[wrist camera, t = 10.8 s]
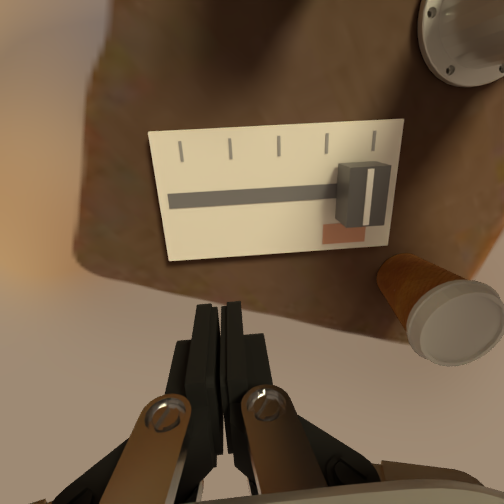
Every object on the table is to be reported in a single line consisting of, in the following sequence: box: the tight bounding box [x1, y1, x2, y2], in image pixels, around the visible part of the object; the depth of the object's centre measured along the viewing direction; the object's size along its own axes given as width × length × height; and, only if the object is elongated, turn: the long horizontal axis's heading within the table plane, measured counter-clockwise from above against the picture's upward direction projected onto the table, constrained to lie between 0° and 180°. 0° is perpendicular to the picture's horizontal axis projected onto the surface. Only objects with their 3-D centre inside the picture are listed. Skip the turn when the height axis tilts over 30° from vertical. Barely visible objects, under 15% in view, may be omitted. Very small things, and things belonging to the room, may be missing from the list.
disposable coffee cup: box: [377, 253, 504, 366], centre depth 36 cm, size 10×10×12 cm
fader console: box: [148, 119, 404, 261], centre depth 35 cm, size 26×14×2 cm, turn 93°
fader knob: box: [335, 161, 392, 228], centre depth 32 cm, size 4×6×4 cm, turn 3°
